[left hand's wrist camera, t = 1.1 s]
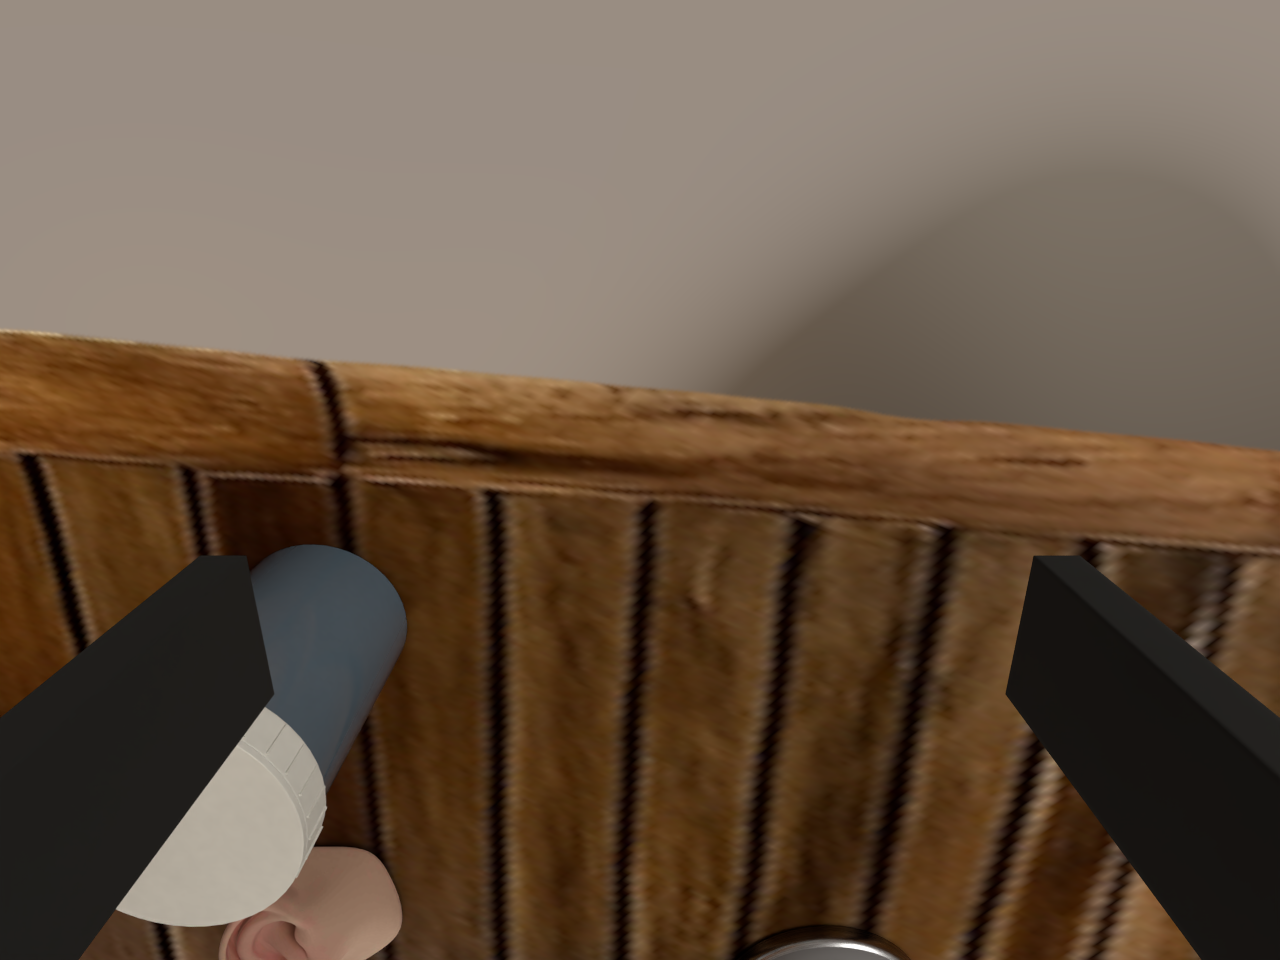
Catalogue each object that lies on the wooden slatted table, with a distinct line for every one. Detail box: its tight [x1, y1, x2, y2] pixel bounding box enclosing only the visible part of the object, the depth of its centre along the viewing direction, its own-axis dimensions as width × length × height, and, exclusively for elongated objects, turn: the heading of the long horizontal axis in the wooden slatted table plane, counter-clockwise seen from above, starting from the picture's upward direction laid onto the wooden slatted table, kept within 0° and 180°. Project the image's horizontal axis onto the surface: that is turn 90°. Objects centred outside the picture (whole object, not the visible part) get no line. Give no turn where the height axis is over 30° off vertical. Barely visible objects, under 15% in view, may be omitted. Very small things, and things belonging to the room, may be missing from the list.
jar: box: [250, 545, 407, 794], centre depth 38 cm, size 10×10×16 cm
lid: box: [116, 707, 327, 927], centre depth 31 cm, size 11×11×2 cm
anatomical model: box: [219, 847, 402, 960], centre depth 51 cm, size 13×4×12 cm
